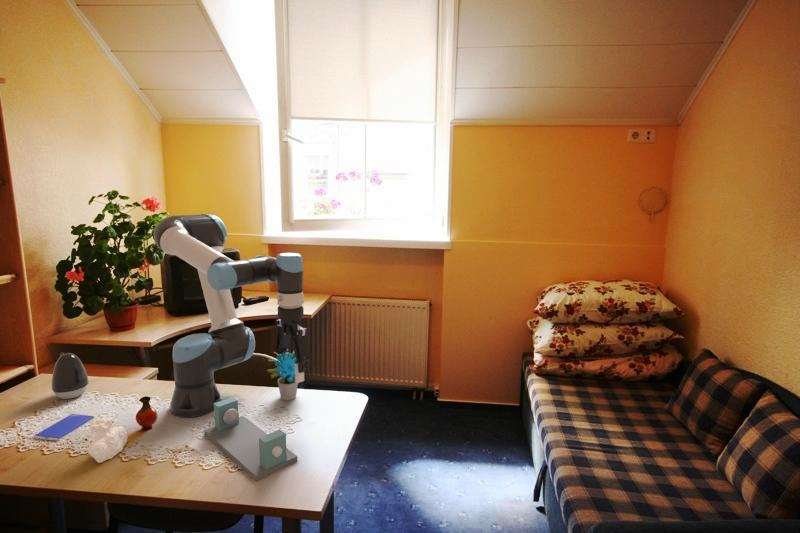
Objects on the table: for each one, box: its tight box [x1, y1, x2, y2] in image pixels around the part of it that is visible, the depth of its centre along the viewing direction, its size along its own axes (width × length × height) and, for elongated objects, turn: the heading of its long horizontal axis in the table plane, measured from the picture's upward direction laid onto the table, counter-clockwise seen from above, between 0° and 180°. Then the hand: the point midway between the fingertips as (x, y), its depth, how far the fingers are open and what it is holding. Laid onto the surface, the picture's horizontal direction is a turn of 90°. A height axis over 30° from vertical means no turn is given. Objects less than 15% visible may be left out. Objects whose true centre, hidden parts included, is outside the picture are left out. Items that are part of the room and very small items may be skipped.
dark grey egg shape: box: [51, 352, 89, 400], centre depth 153 cm, size 10×10×15 cm
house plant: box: [266, 350, 299, 401], centre depth 157 cm, size 14×14×16 cm
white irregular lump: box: [86, 416, 129, 464], centre depth 121 cm, size 12×8×11 cm
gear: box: [274, 352, 297, 382], centre depth 138 cm, size 11×6×10 cm
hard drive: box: [33, 413, 95, 441], centre depth 134 cm, size 2×8×12 cm
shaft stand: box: [203, 396, 299, 482], centre depth 125 cm, size 31×12×9 cm, turn 47°
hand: (291, 377), depth 138 cm, fingers closed on gear, 8 cm apart
